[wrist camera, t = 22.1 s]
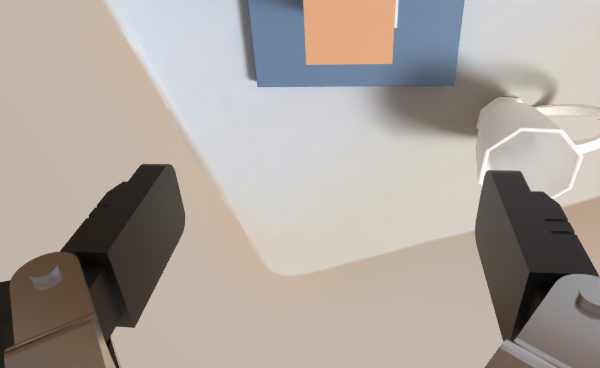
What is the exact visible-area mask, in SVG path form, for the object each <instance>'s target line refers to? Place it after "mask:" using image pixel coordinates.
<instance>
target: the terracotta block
mask: <svg viewBox="0 0 600 368" xmlns="http://www.w3.org/2000/svg"><path fill="white" fill-rule="evenodd" d="M395 5H396V0H303V7H304V28H305V49H306V65H337V64H392V60H393V42H394V23H395Z"/></svg>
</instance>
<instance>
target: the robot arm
mask: <svg viewBox="0 0 600 368" xmlns="http://www.w3.org/2000/svg"><path fill="white" fill-rule="evenodd" d="M184 225H185V212H184V207H183V203H182V199H181V194H180V190H179V186H178V182H177V177H176V173H175V170H174V168H173V166H172V165H169V164H142V165H141V166H140V167H139V168H138V169H137V171H136V172H135V173H134V174H133V176H132V177H131V178H130V180H129V181H128V182H122V183H121V184H119V185H118V186H116V187H115V188H114V189H112V190H110V191H109V192H107V193H106V195H105V196H104V197H103V199H102V200H101V201H100V202H99V203H98V205H97V208H94V210H93V211H92V212H91V213H90V215H89V218H87V219H86V220H85V221H84V222H83V223H82V225H81V226H80V227H79V228H78V230H77V231H76V232H75V233H74V235H73V236H72V237H71V238H70V240H69V241H68V242H67V243H66V245H65V246H64V247H63V248H62V249H61V251H60V252H54V253H48V254H45V255H42V256H39V257H37V258H35V259H33V260H31V261H29V262H27V263H26V264H25V265H23V266H22V267H21V268H19V269H18V270H17V271H16V273H15V274H14V275H13V277H12V278H11V280H10V281H5V282H0V368H121V366H120V363H119V360H118V356H117V353H116V350H115V346H114V343H113V341H112V339H111V334H112V333H113V331H114V329H115V327H116V326H118V327H133V328H135V326H136V324H137V322H138V320H139V318H140V316H141V314H142V312H143V310H144V308H145V306H146V304H147V302H148V300H149V298H150V296H151V294H152V292H153V290H154V289H155V287H156V285H157V283H158V281H159V279H160V277H161V275H162V273H163V271H164V269H165V267H166V265H167V263H168V261H169V259H170V257H171V255H172V253H173V251H174V249H175V247H176V245H177V243H178V241H179V239H180V237H181V235H182V233H183V230H184ZM475 236H476V244H477V248H478V251H479V255H480V259H481V263H482V266H483V270H484V273H485V277H486V281H487V284H488V288H489V291H490V295H491V299H492V302H493V306H494V309H495V313H496V317H497V320H498V324H499V328H500V331H501V335H502V338H503V343H502V345H501V346H500V347H499V348H498V350H497V351H496V353H495V354H494V355H493V357H492V358H491V359H490V361H489V362H488V363H487V365H486V366H485V368H600V277H599V275H598V273H597V271H596V269H595V268H594V266H593V264H592V262H591V261H590V259H589V257H588V255H587V253H586V251H585V250H584V248H583V246H582V244H581V242H580V241H579V239H578V237H577V235H575V234H574V230H573V228H572V226H571V224H570V223H569V222H568V219H567V217H566V215H565V214H564V212H563V210H562V208H561V206H560V205H559V204H558V203H557V202H556V201H554V200H553V199H552V198H551V197H549V196H548V195H547V194H546V193H544V192H543V191H531V190H530V188H529V186H528V184H527V182H526V180H525V178H524V176H523V174H522V172H521V171H511V170H487V171H486V173H485V176H484V180H483V185H482V191H481V196H480V202H479V207H478V212H477V218H476V226H475Z"/></svg>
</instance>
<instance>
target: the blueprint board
mask: <svg viewBox="0 0 600 368" xmlns="http://www.w3.org/2000/svg"><path fill="white" fill-rule="evenodd" d="M248 6H249V15H250V24H251V33H252V42H253V51H254V60H255V69H256V78H257V87H324V86H454V79H455V71H456V63H457V55H458V47H459V39H460V31H461V24H462V16H463V8H464V0H396V5H395V23H394V42H393V60H392V64H337V65H306V49H305V28H304V7H303V0H248Z"/></svg>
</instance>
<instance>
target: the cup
mask: <svg viewBox="0 0 600 368" xmlns="http://www.w3.org/2000/svg"><path fill="white" fill-rule="evenodd" d="M545 115H584V116H593V117H595V118H597V119H599V120H600V108H598V107H596V106H589V105H576V104H560V105H544V106H536V107H532V106H530V105H528V104H526V103H523V101H522V100H521V99H520V98H513V97H497V98H496V99H494V100H493V101H492V102H490V103H489V104H487V105H486V106H485V107H483V108H482V109H480V113H479V118H478V122H477V127H476V128H477V130H478V136H477V143H476V159H477V180H478V184H479V185H480V186H481V187H482V185H483V180H484V176H485V173H486V171H487V170H511V171H521V172H522V174H523V176H524V178H525V180H526V182H527V184H528V186H529V188H530V190H531V191H543V192H544V193H546V194H547V195H548V196H549V197H551V198H552V199H553V198H555V197H557V196H559V195H561V194H562V193H564V192H566V191H568V190H570V189H571V188H572V185H573V183H574V180H575V177H576V175H577V172H578V169H579V167H580V164H581V162H582V159H583V155H582V154H581V153H586V152H589V151H592V150H596V149H598V148H600V135H599V136H597V137H595V138H590V139H584V140H579V141H571V140H570V138H569V137H568V136H567V134H566V133H565V132H564V131H563V130H562V129H561V128H560V127H559V126H558V125H556V124H555V123H554V122H552V121H551V120H550V119H548V118H547V117H546V116H545Z"/></svg>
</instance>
